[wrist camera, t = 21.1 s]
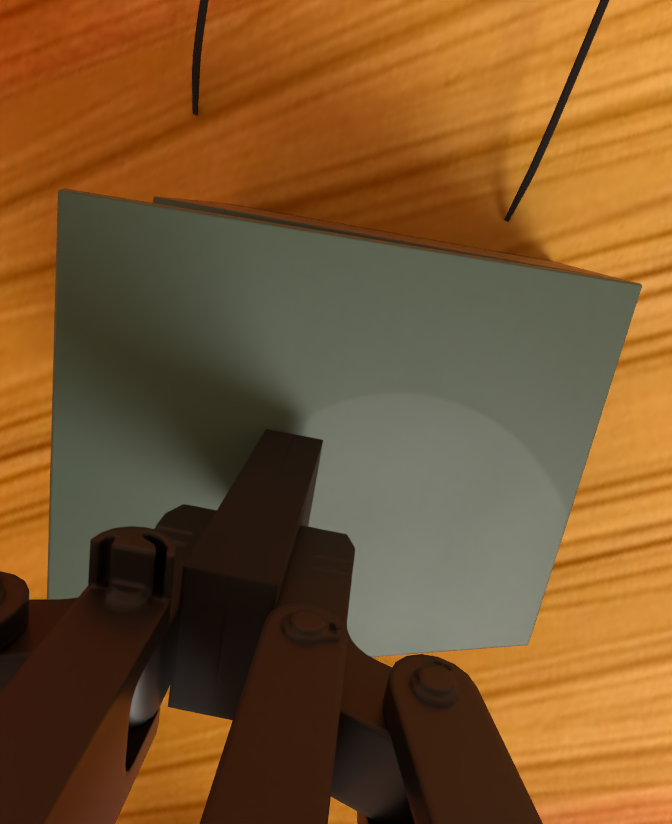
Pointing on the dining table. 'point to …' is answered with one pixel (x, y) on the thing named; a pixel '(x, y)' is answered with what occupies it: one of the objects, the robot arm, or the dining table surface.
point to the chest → (359, 232)
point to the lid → (331, 402)
